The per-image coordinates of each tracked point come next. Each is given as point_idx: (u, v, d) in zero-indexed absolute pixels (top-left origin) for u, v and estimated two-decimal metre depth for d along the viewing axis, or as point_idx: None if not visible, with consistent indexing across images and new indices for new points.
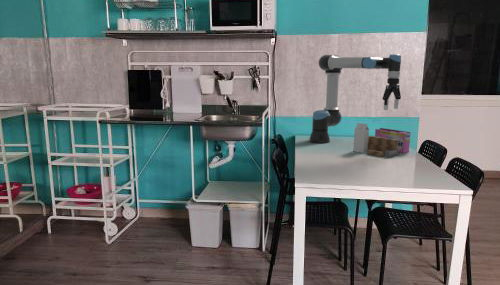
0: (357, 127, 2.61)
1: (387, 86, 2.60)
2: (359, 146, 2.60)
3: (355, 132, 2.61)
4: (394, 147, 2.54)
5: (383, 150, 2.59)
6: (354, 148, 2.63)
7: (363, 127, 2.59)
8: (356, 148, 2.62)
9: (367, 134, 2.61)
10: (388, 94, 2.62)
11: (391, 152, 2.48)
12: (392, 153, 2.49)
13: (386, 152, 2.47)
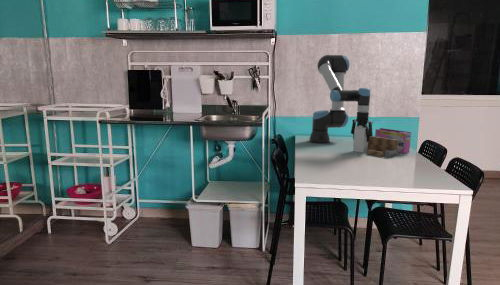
0: (357, 127, 2.61)
1: None
2: (359, 145, 2.60)
3: (355, 132, 2.61)
4: (394, 147, 2.54)
5: (383, 150, 2.59)
6: (354, 148, 2.63)
7: (363, 127, 2.59)
8: (356, 148, 2.62)
9: None
10: None
11: (391, 152, 2.48)
12: (392, 153, 2.49)
13: (386, 152, 2.47)
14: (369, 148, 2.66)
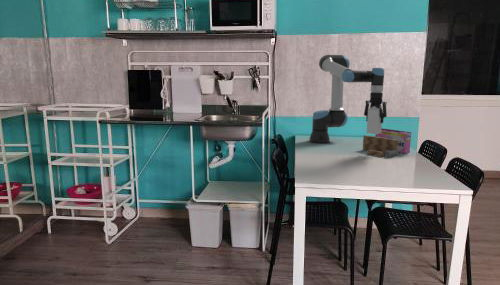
0: (370, 108, 2.54)
1: None
2: (373, 127, 2.53)
3: (368, 113, 2.54)
4: (394, 147, 2.54)
5: (383, 150, 2.59)
6: (367, 130, 2.56)
7: (377, 108, 2.52)
8: (370, 129, 2.55)
9: None
10: None
11: (391, 152, 2.48)
12: (392, 153, 2.49)
13: (386, 152, 2.47)
14: (369, 148, 2.66)
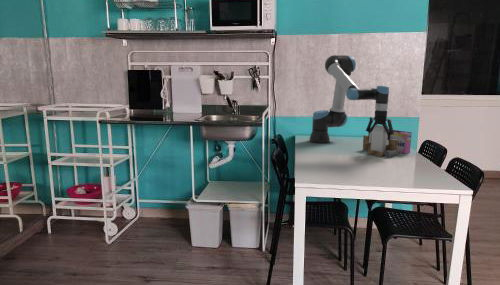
0: (375, 129, 2.54)
1: None
2: (377, 148, 2.53)
3: (373, 134, 2.54)
4: (394, 147, 2.54)
5: None
6: None
7: (381, 129, 2.52)
8: (374, 150, 2.55)
9: (385, 136, 2.54)
10: (372, 126, 2.57)
11: (391, 152, 2.48)
12: (392, 153, 2.49)
13: (386, 152, 2.47)
14: (369, 148, 2.66)
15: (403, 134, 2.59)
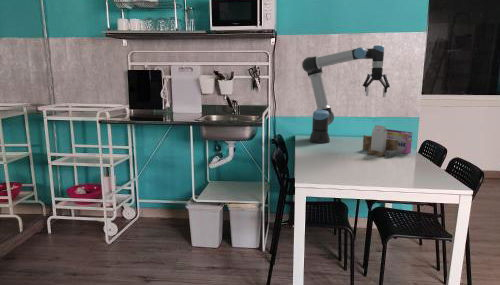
0: (375, 129, 2.54)
1: None
2: (377, 148, 2.53)
3: (373, 134, 2.54)
4: (394, 147, 2.54)
5: None
6: None
7: (381, 129, 2.52)
8: (374, 150, 2.55)
9: (385, 136, 2.54)
10: (368, 82, 2.90)
11: (391, 152, 2.48)
12: (392, 153, 2.49)
13: (386, 152, 2.47)
14: (369, 148, 2.66)
15: (404, 134, 2.59)
